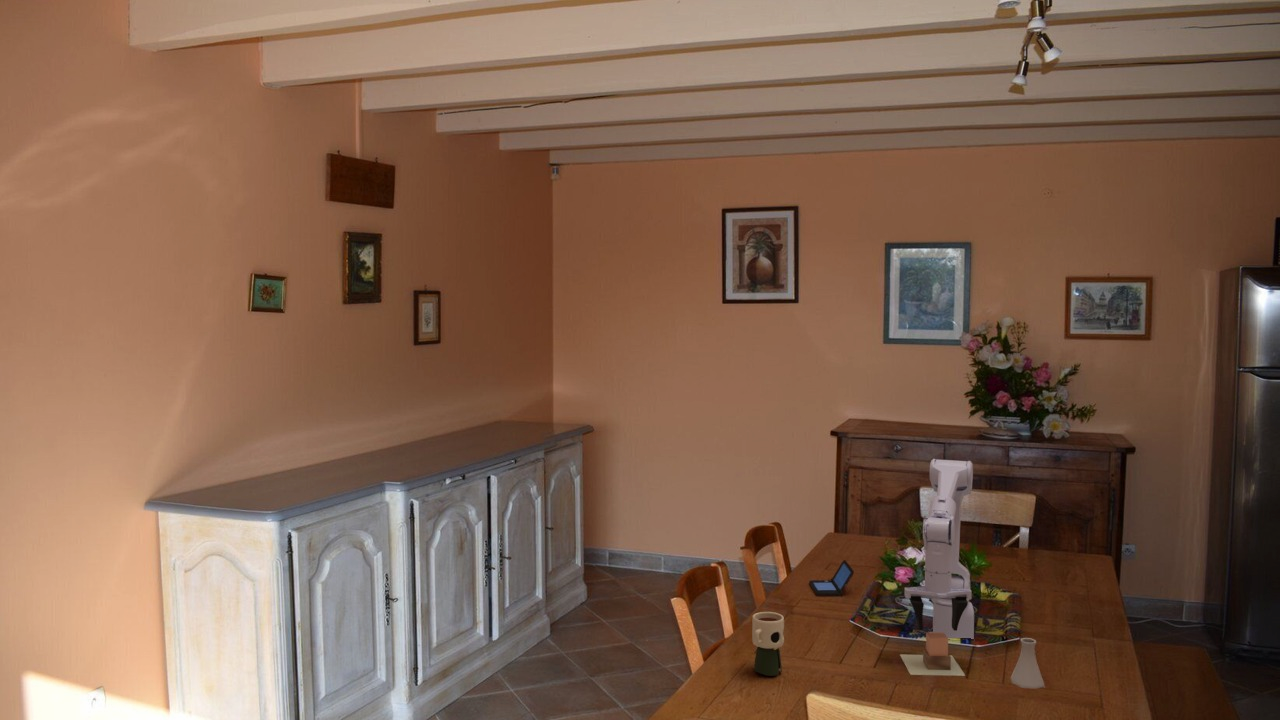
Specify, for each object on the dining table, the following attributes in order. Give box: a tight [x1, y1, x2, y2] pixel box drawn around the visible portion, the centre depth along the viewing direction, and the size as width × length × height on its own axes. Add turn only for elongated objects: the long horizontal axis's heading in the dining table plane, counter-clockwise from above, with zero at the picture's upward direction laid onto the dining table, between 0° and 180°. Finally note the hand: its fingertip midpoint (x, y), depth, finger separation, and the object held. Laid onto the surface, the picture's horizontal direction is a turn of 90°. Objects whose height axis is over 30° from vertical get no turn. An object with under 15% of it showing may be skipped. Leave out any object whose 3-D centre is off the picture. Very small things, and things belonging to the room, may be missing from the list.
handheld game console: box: [808, 559, 855, 598], centre depth 282 cm, size 12×11×7 cm
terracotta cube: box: [925, 631, 949, 656], centre depth 223 cm, size 4×4×4 cm
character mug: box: [751, 611, 785, 677], centre depth 221 cm, size 11×7×13 cm, turn 143°
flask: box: [1010, 637, 1046, 690], centre depth 214 cm, size 7×7×10 cm
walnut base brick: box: [922, 648, 951, 670], centre depth 223 cm, size 5×5×3 cm
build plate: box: [899, 654, 966, 677], centre depth 224 cm, size 12×12×1 cm
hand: (937, 628), depth 223 cm, fingers open, 7 cm apart
